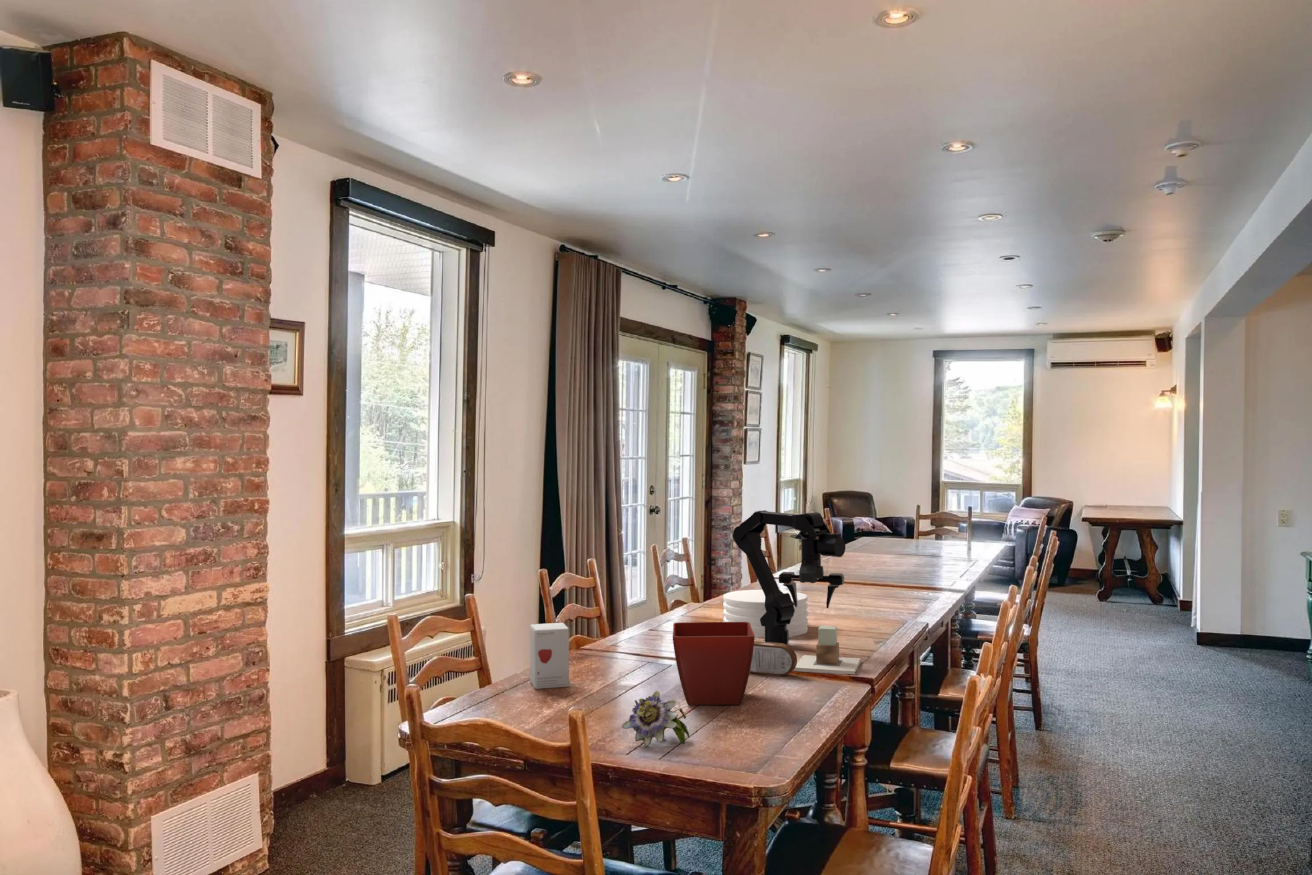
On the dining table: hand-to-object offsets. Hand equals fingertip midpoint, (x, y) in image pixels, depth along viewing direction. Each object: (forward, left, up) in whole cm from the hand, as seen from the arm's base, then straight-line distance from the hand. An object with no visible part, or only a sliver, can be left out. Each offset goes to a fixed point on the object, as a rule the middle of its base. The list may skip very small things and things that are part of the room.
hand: (811, 607), depth 274 cm
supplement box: (-59, -57, -13) cm, 83 cm away
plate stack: (-20, +31, -13) cm, 39 cm away
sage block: (+7, -18, -7) cm, 20 cm away
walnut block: (+7, -18, -12) cm, 23 cm away
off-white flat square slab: (+7, -18, -13) cm, 23 cm away
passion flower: (-18, -94, -13) cm, 97 cm away
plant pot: (-15, -59, -13) cm, 62 cm away
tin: (-7, -31, -13) cm, 34 cm away
